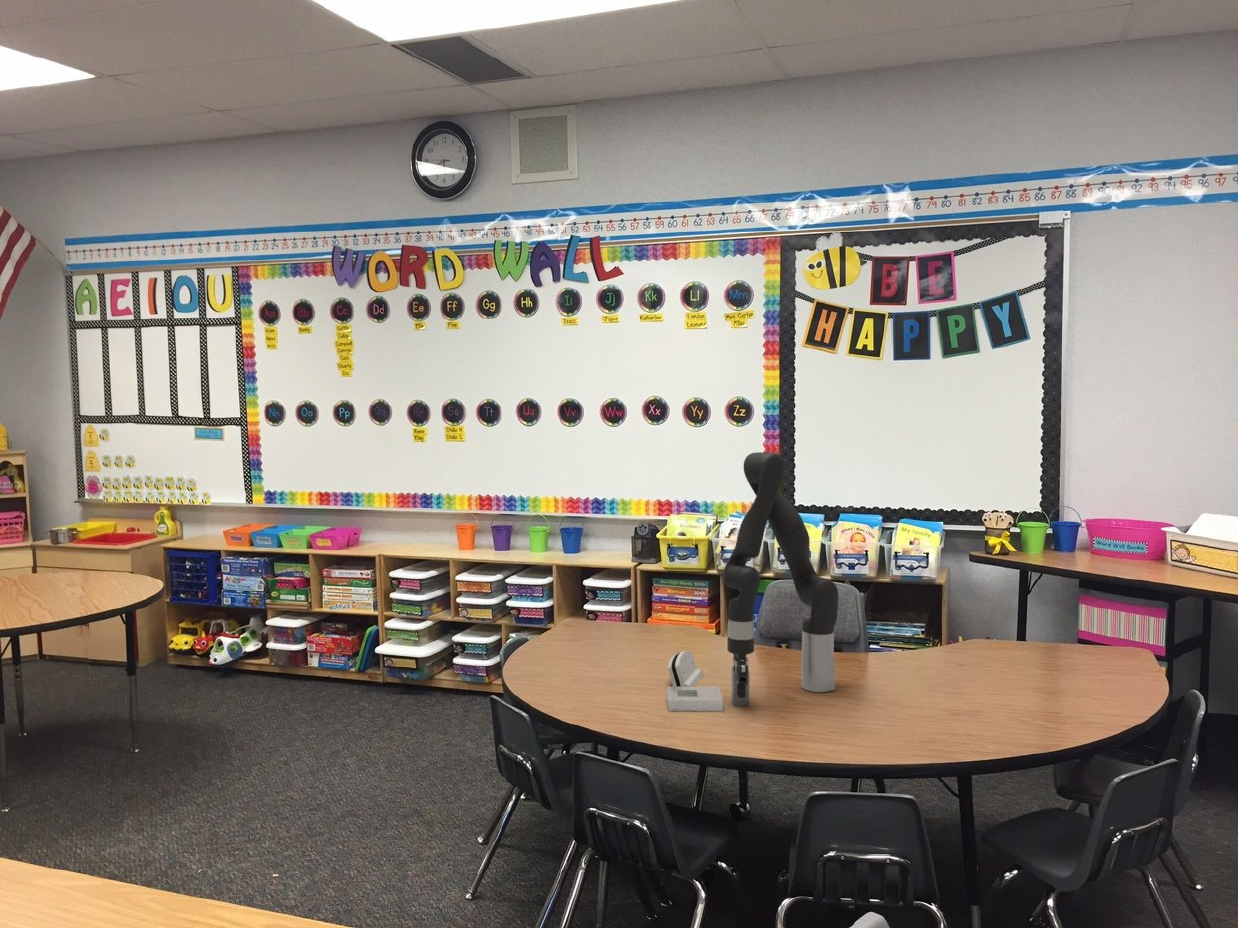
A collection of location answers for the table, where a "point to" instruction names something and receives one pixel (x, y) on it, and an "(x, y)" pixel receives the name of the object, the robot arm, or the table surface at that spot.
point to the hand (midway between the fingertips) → (740, 693)
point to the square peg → (736, 700)
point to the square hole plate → (694, 699)
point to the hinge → (684, 670)
